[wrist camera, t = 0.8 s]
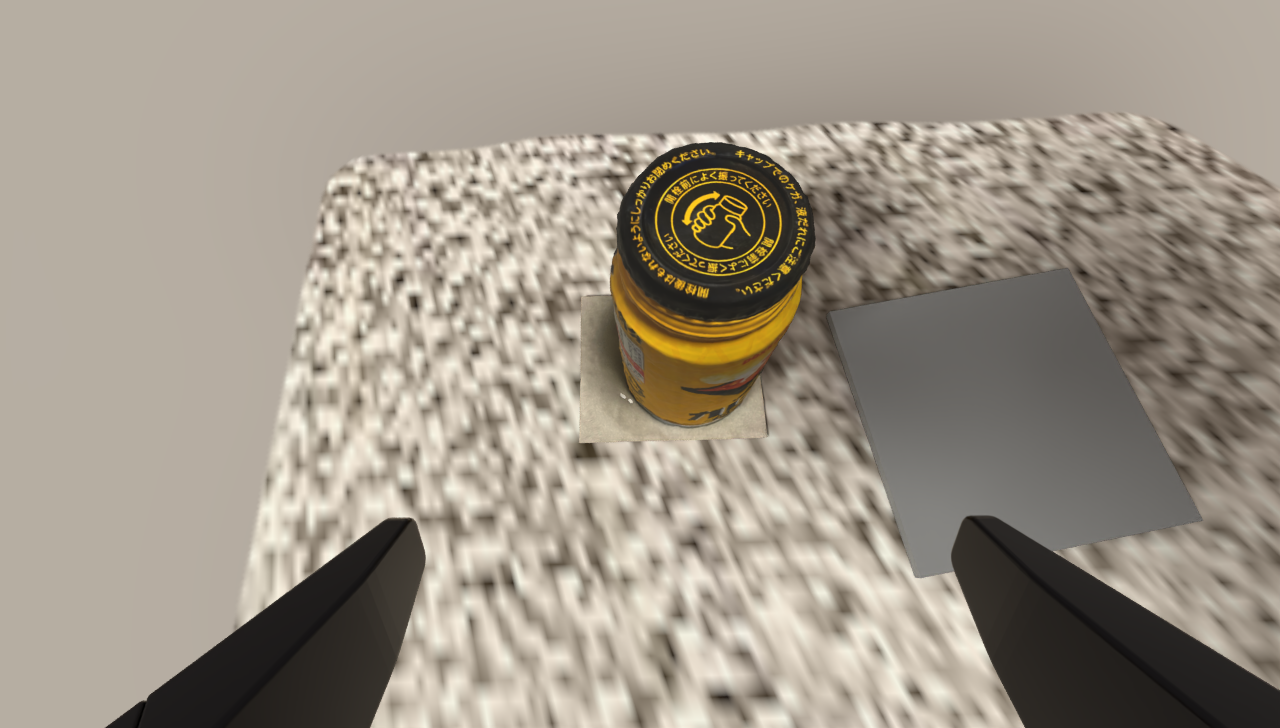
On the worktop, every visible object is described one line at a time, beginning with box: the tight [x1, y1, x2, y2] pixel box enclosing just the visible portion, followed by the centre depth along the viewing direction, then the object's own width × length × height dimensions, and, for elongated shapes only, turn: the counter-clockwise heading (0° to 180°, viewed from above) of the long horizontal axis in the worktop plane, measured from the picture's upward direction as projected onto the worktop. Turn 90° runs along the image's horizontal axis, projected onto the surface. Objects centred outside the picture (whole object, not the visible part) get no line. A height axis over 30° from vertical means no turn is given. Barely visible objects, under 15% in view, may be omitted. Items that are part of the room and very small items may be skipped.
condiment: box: [579, 142, 815, 443], centre depth 19 cm, size 7×8×12 cm
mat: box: [826, 268, 1203, 578], centre depth 23 cm, size 12×12×1 cm
